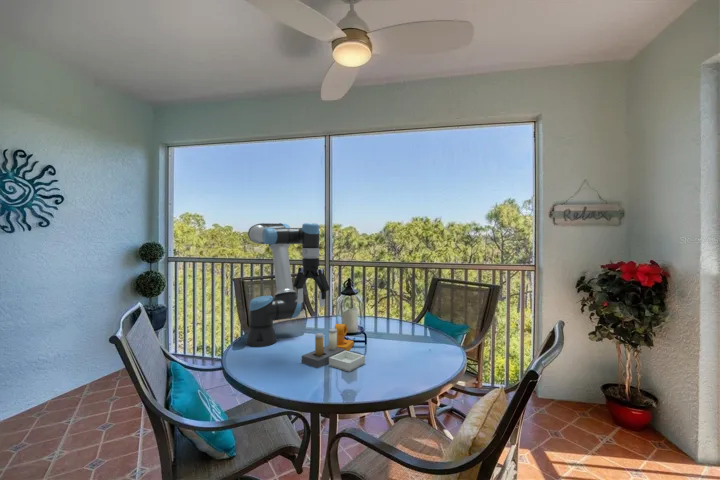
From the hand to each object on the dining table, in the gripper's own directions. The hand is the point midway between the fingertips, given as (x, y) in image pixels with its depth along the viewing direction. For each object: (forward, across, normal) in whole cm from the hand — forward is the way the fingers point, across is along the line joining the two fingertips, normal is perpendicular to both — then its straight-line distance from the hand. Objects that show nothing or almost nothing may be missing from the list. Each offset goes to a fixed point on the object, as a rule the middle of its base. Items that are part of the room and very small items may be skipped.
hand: (311, 304), depth 156 cm
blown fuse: (+24, +5, 0) cm, 25 cm away
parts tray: (+24, +18, +4) cm, 30 cm away
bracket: (+25, +3, +19) cm, 31 cm away
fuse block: (+24, +5, +3) cm, 25 cm away
